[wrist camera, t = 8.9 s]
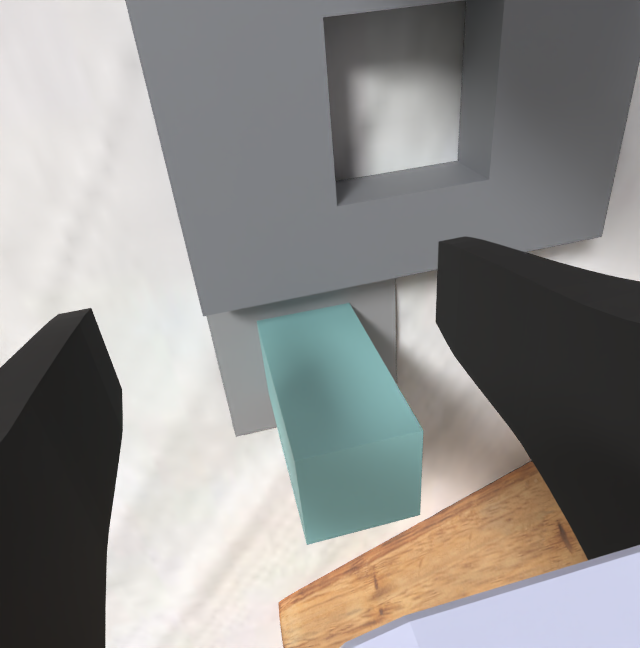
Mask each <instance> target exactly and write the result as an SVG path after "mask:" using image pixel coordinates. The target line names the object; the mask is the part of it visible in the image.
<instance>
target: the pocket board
mask: <svg viewBox="0 0 640 648" xmlns="http://www.w3.org/2000/svg"><path fill="white" fill-rule="evenodd" d="M125 1H126V5H127V9H128V13H129V17H130V21H131V25H132V30H133V34H134V38H135V42H136V46H137V50H138V54H139V58H140V62H141V66H142V70H143V74H144V78H145V82H146V86H147V90H148V94H149V98H150V103H151V107H152V111H153V115H154V119H155V123H156V127H157V131H158V135H159V139H160V143H161V147H162V151H163V155H164V159H165V163H166V167H167V171H168V175H169V180H170V184H171V188H172V192H173V196H174V200H175V204H176V208H177V212H178V216H179V220H180V224H181V228H182V232H183V236H184V240H185V244H186V248H187V252H188V257H189V261H190V265H191V269H192V273H193V277H194V281H195V285H196V289H197V293H198V297H199V301H200V305H201V309H202V313H203V316H208V315H213V314H218V313H223V312H228V311H233V310H238V309H243V308H248V307H253V306H258V305H263V304H268V303H273V302H278V301H283V300H288V299H293V298H298V297H303V296H308V295H313V294H318V293H323V292H328V291H333V290H338V289H343V288H348V287H353V286H358V285H363V284H368V283H373V282H378V281H383V280H388V279H393V278H398V277H403V276H408V275H413V274H418V273H423V272H428V271H433V270H438V243H439V241H444V240H449V239H454V238H459V237H464V236H466V237H473V238H478V239H482V240H486V241H489V242H493V243H497V244H500V245H503V246H507V247H510V248H513V249H516V250H520V251H523V252H528V251H533V250H538V249H543V248H548V247H553V246H558V245H563V244H568V243H573V242H578V241H583V240H588V239H593V238H598V237H602V232H603V228H604V223H605V219H606V214H607V209H608V205H609V200H610V195H611V191H612V186H613V181H614V177H615V172H616V167H617V163H618V158H619V153H620V149H621V144H622V139H623V135H624V130H625V126H626V121H627V116H628V112H629V107H630V102H631V98H632V93H633V88H634V84H635V79H636V74H637V70H638V65H639V60H640V0H466V10H465V29H464V48H463V68H462V87H461V106H460V126H459V145H458V161H454V162H448V163H442V164H436V165H430V166H424V167H419V168H413V169H407V170H401V171H395V172H389V173H383V174H377V175H371V176H365V177H359V178H353V179H347V180H341V181H335V171H334V157H333V144H332V130H331V117H330V104H329V90H328V77H327V63H326V50H325V37H324V23H323V17H330V16H339V15H347V14H355V13H364V12H372V11H380V10H389V9H397V8H405V7H414V6H422V5H430V4H439V3H447V2H455V1H464V0H125Z"/></svg>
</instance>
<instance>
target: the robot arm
mask: <svg viewBox="0 0 640 648" xmlns="http://www.w3.org/2000/svg"><path fill="white" fill-rule="evenodd" d="M436 323H437V325H438V327H439V329H440V331H441V333H442V335H443V336H444V338H445V340H446V342H447V344H448V346H449V347H450V349H451V351H452V352H453V354H454V356H455V357H456V359H457V360H458V361H459V363H460V364H461V365H462V367H463V368H464V369H465V371H466V372H467V373H468V375H469V376H470V377H471V378H472V380H473V381H474V382H475V384H476V385H477V386H478V387H479V389H480V390H481V391H482V393H483V394H484V395H485V396H486V398H487V399H488V400H489V402H490V403H491V404H492V405H493V407H494V408H495V409H496V410H497V412H498V413H499V414H500V416H501V417H502V418H503V419H504V421H505V422H506V423H507V425H508V426H509V427H510V428H511V430H512V431H513V433H514V434H515V435H516V437H517V438H518V440H519V441H520V442H521V444H522V445H523V447H524V449H525V450H526V452H527V453H528V455H529V457H530V458H531V460H532V462H533V463H534V465H535V467H536V468H537V470H538V471H539V473H540V475H541V476H542V478H543V480H544V481H545V483H546V485H547V486H548V488H549V490H550V492H551V493H552V495H553V497H554V499H555V500H556V502H557V504H558V506H559V507H560V509H561V511H562V513H563V514H564V516H565V518H566V520H567V521H568V523H569V525H570V527H571V529H572V531H573V533H574V534H575V536H576V538H577V540H578V542H579V544H580V546H581V548H582V550H583V551H584V553H585V555H586V557H587V559H588V561H584V562H581V563H578V564H574V565H571V566H568V567H565V568H561V569H558V570H555V571H551V572H548V573H545V574H541V575H538V576H535V577H531V578H528V579H525V580H521V581H518V582H515V583H511V584H508V585H505V586H501V587H498V588H495V589H491V590H488V591H485V592H481V593H478V594H475V595H471V596H468V597H465V598H461V599H458V600H455V601H451V602H448V603H445V604H442V605H438V606H435V607H432V608H428V609H425V610H422V611H418V612H415V613H412V614H408V615H405V616H403V617H400V618H398V619H396V620H394V621H391V622H389V623H387V624H385V625H383V626H380V627H378V628H376V629H374V630H372V631H369V632H367V633H365V634H363V635H361V636H358V637H356V638H354V639H352V640H350V641H347V642H345V643H344V644H343V645H342V646H341V647H340V648H640V282H639V281H634V280H629V279H623V278H619V277H614V276H609V275H605V274H601V273H597V272H593V271H589V270H585V269H581V268H577V267H574V266H570V265H566V264H563V263H559V262H556V261H552V260H549V259H546V258H542V257H539V256H536V255H533V254H529V253H526V252H523V251H520V250H516V249H513V248H510V247H507V246H503V245H500V244H497V243H493V242H489V241H486V240H482V239H478V238H473V237H466V236H464V237H459V238H454V239H449V240H444V241H439V243H438V271H437V300H436ZM122 432H123V411H122V388H121V386H120V383H119V380H118V378H117V375H116V372H115V370H114V367H113V364H112V362H111V359H110V356H109V354H108V351H107V349H106V346H105V343H104V341H103V338H102V335H101V333H100V330H99V327H98V325H97V322H96V320H95V317H94V314H93V312H92V309H91V308H89V309H83V310H78V311H73V312H68V313H62V314H58V315H57V316H56V317H54V318H53V319H52V320H50V321H49V322H48V323H47V324H46V325H45V326H44V327H43V328H42V329H40V330H39V331H38V332H37V333H36V334H35V335H34V336H33V337H32V338H31V339H30V340H29V341H28V342H27V343H26V344H25V345H24V346H23V347H22V348H21V349H20V350H19V351H17V352H16V353H15V354H14V355H13V356H12V357H11V358H10V359H9V360H8V361H7V362H6V363H5V364H4V365H3V366H2V367H1V368H0V648H105V602H106V563H107V545H108V534H109V526H110V519H111V512H112V505H113V498H114V491H115V484H116V477H117V470H118V463H119V455H120V448H121V440H122Z"/></svg>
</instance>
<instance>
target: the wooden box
mask: <svg viewBox="0 0 640 648" xmlns="http://www.w3.org/2000/svg"><path fill="white" fill-rule="evenodd" d="M584 561H588V559H587V557H586V555H585V553H584V551H583V550H582V548H581V546H580V544H579V542H578V540H577V538H576V536H575V534H574V533H573V531H572V529H571V527H570V525H569V523H568V521H567V520H566V518H565V516H564V514H563V513H562V511H561V509H560V507H559V506H558V504H557V502H556V500H555V499H554V497H553V495H552V493H551V492H550V490H549V488H548V486H547V485H546V483H545V481H544V480H543V478H542V476H541V475H540V473H539V471H538V470H537V468H536V467H535V465H534V463H533V462H532V461H531V462H529V463H527V464H525V465H523V466H522V467H520V468H518V469H516V470H514V471H512V472H510V473H509V474H507V475H505V476H503V477H501V478H500V479H498V480H496V481H494V482H493V483H491V484H489V485H487V486H485V487H484V488H482V489H480V490H478V491H476V492H474V493H472V494H470V495H469V496H467V497H465V498H463V499H462V500H460V501H458V502H456V503H455V504H453V505H451V506H449V507H447V508H445V509H443V510H442V511H440V512H438V513H437V514H435V515H433V516H432V517H430V518H428V519H426V520H424V521H422V522H420V523H418V524H417V525H415V526H413V527H411V528H409V529H408V530H406V531H404V532H402V533H400V534H399V535H397V536H395V537H393V538H391V539H390V540H388V541H386V542H384V543H382V544H381V545H379V546H377V547H375V548H373V549H371V550H370V551H368V552H366V553H364V554H362V555H361V556H359V557H357V558H355V559H353V560H352V561H350V562H348V563H346V564H345V565H343V566H341V567H339V568H337V569H336V570H334V571H332V572H330V573H328V574H327V575H325V576H323V577H321V578H319V579H317V580H316V581H314V582H312V583H310V584H309V585H307V586H305V587H303V588H302V589H300V590H298V591H296V592H294V593H293V594H291V595H289V596H288V597H286V598H285V599H283V600H281V601H280V602H279V616H280V626H281V633H282V641H283V647H284V648H340V647H341V646H342V645H343V644H344V643H345V642H347V641H350V640H352V639H354V638H356V637H358V636H361V635H363V634H365V633H367V632H369V631H372V630H374V629H376V628H378V627H380V626H383V625H385V624H387V623H389V622H391V621H394V620H396V619H398V618H400V617H403V616H405V615H408V614H412V613H415V612H418V611H422V610H425V609H428V608H432V607H435V606H438V605H442V604H445V603H448V602H451V601H455V600H458V599H461V598H465V597H468V596H471V595H475V594H478V593H481V592H485V591H488V590H491V589H495V588H498V587H501V586H505V585H508V584H511V583H515V582H518V581H521V580H525V579H528V578H531V577H535V576H538V575H541V574H545V573H548V572H551V571H555V570H558V569H561V568H565V567H568V566H571V565H574V564H578V563H581V562H584Z"/></svg>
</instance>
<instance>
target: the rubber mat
mask: <svg viewBox="0 0 640 648" xmlns="http://www.w3.org/2000/svg"><path fill="white" fill-rule="evenodd" d="M346 303H350V305H351V307H352V309H353V310H354V312H355V314H356V315H357V317H358V319H359V321H360V322H361V324H362V326H363V327H364V329H365V331H366V333H367V334H368V336H369V338H370V340H371V341H372V343H373V345H374V346H375V348H376V350H377V352H378V353H379V355H380V357H381V358H382V360H383V362H384V364H385V365H386V367H387V369H388V371H389V372H390V374H391V376H392V377H393V379H394V381H395V383H396V384H397V377H396V303H395V278H393V279H388V280H383V281H378V282H373V283H368V284H363V285H358V286H353V287H348V288H343V289H338V290H333V291H328V292H323V293H318V294H313V295H308V296H303V297H298V298H293V299H288V300H283V301H278V302H273V303H268V304H263V305H258V306H253V307H248V308H243V309H238V310H233V311H228V312H223V313H218V314H213V315H208V316H207V319H208V324H209V328H210V332H211V336H212V340H213V344H214V348H215V352H216V357H217V361H218V365H219V369H220V373H221V377H222V381H223V385H224V390H225V394H226V398H227V402H228V406H229V410H230V414H231V418H232V423H233V427H234V431H235V435H236V437H237V436H241V435H245V434H249V433H254V432H258V431H262V430H266V429H271V428H275V427H277V424H276V421H275V417H274V413H273V409H272V405H271V401H270V397H269V392H268V386H267V380H266V374H265V368H264V362H263V356H262V350H261V345H260V339H259V333H258V327H257V321H258V320H264V319H269V318H274V317H279V316H284V315H289V314H295V313H300V312H305V311H310V310H315V309H320V308H326V307H331V306H336V305H341V304H346Z"/></svg>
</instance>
